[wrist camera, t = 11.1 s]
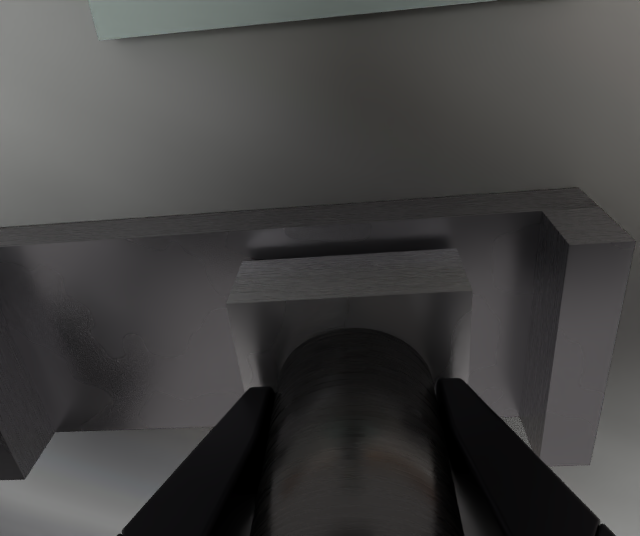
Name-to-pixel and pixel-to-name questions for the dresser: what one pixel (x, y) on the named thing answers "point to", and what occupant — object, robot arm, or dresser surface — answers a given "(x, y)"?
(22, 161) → the dresser surface
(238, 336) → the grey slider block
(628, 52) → the dresser surface
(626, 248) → the rail
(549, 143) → the dresser surface
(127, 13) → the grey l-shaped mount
